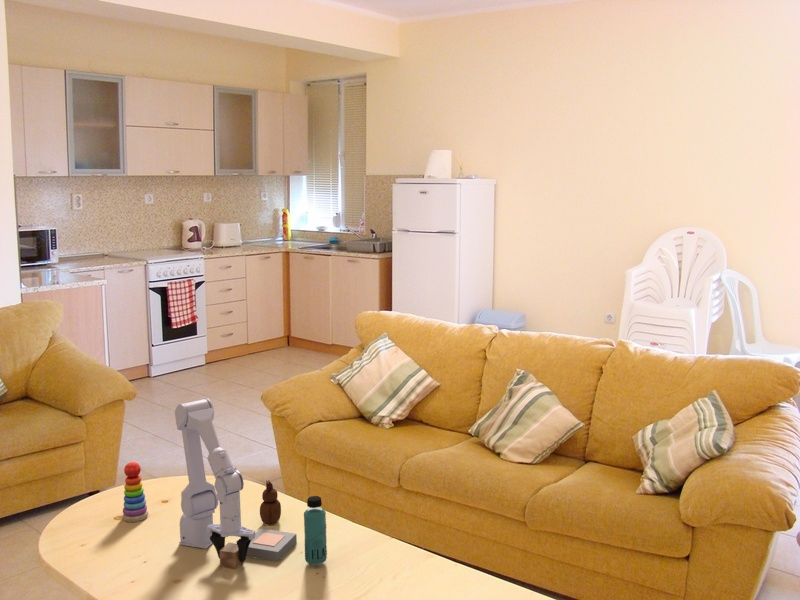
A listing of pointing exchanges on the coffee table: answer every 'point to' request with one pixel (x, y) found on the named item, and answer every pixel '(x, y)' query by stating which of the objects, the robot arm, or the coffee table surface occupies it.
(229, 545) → the walnut cube
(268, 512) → the wooden figurine
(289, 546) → the slate plinth
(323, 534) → the beverage bottle
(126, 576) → the coffee table surface
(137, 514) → the stacking toy
